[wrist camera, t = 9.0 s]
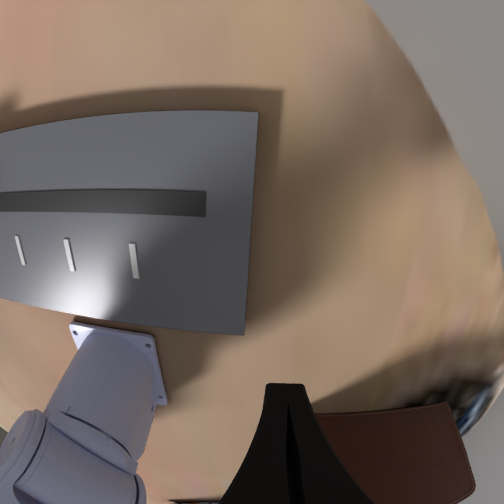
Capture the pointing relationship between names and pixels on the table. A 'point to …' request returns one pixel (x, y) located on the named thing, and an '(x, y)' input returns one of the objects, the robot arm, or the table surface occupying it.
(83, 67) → the table surface
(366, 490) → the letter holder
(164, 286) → the console board
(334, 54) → the table surface
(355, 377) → the table surface
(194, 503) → the lunch box
